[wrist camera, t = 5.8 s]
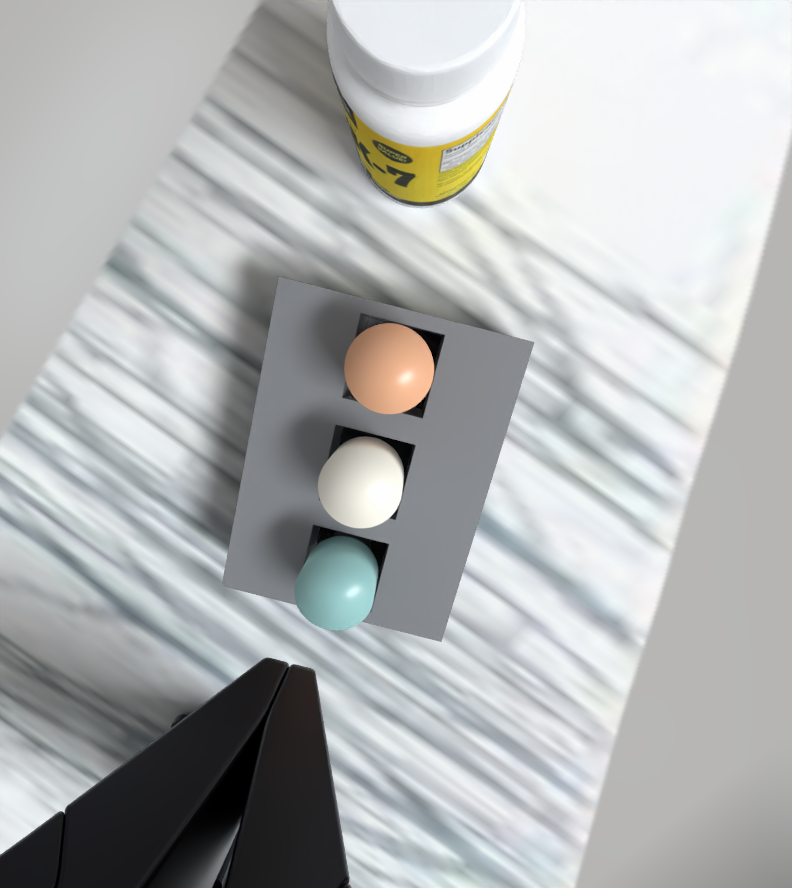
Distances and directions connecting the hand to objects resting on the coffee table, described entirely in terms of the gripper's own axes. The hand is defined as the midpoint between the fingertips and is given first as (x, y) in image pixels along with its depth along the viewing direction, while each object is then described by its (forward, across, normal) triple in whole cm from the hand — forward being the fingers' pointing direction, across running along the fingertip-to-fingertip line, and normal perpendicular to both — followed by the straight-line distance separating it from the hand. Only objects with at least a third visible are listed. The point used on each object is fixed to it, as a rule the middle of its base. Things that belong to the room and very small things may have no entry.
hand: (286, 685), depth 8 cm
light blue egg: (+12, 0, +3) cm, 12 cm away
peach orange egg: (+12, 0, -5) cm, 13 cm away
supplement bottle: (+12, +1, -13) cm, 18 cm away
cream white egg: (+12, 0, -1) cm, 12 cm away
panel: (+12, 0, -1) cm, 12 cm away
